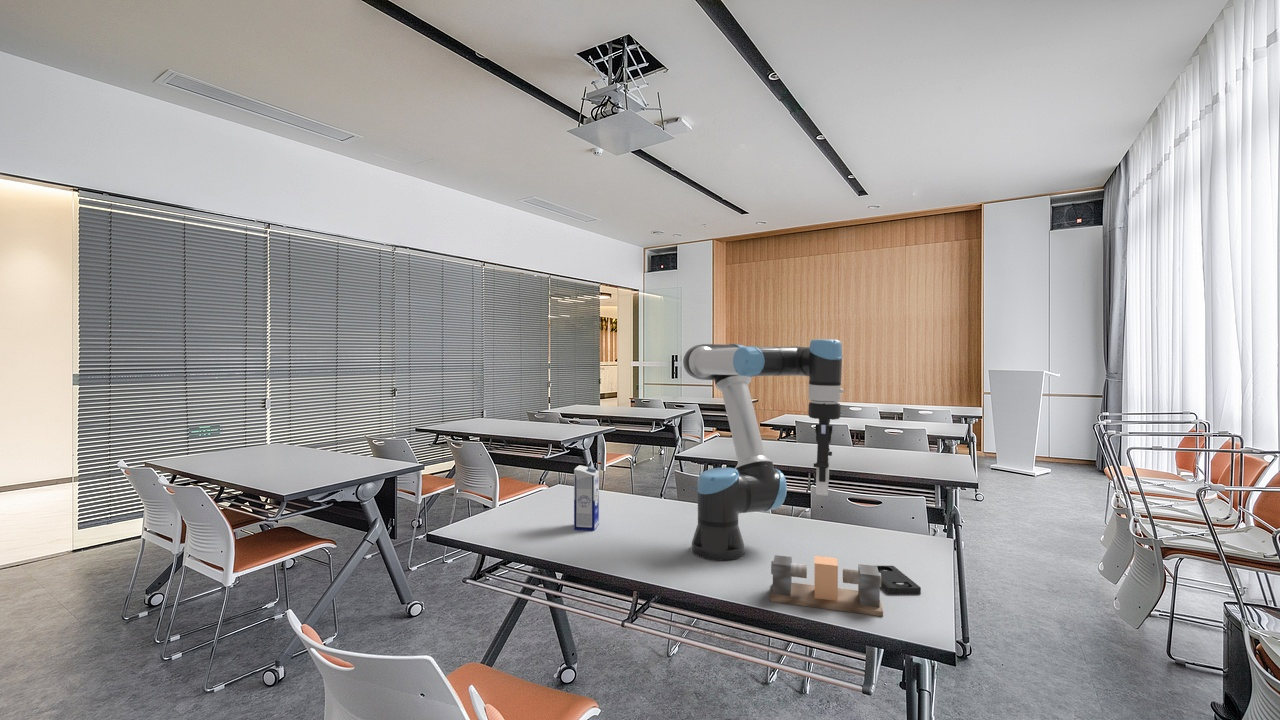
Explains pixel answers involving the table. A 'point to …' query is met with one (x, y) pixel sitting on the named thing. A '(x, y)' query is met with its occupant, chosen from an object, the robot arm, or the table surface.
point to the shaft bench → (848, 600)
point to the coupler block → (826, 578)
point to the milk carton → (586, 498)
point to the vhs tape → (896, 581)
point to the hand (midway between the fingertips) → (822, 487)
